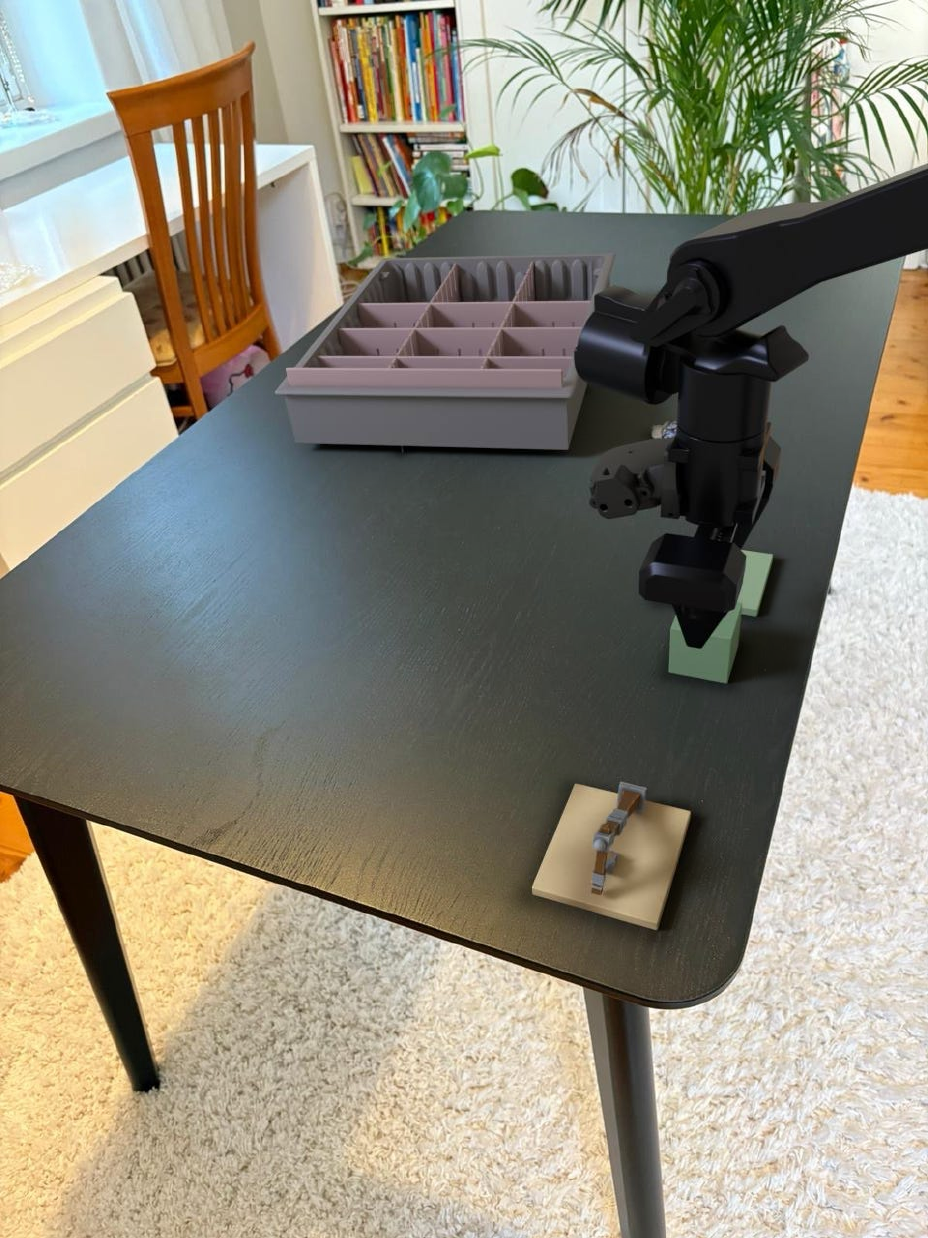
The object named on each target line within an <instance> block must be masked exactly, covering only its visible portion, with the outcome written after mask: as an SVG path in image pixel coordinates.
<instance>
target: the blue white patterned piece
mask: <svg viewBox="0 0 928 1238" xmlns="http://www.w3.org/2000/svg"><path fill="white" fill-rule="evenodd" d="M676 428H677V418H673V419H672V421H671V420H667V421H665V422H664V424H656V425H655V424H653V425H652V426H651V429H652V430H651V433H650V434H651V437H652V438H653V439H655V438H663V439H664V438H670V437H675V435H676Z"/></svg>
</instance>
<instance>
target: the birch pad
mask: <svg viewBox="0 0 928 1238" xmlns="http://www.w3.org/2000/svg"><path fill="white" fill-rule="evenodd" d="M617 798H618V792H612V791H610V790H605V789H600V788H598V787H597V788H596V787H592V786H588V785H584V784H580V783H574V784H573V788H572V790H571V792H570V795H569V797H568V800H567V802H566V803H565V806H564V809H563V811H562V814H561V817H560V819H559V822H558V823H557V826H556V829H555V831H554V833H553V835H552V838H551V840H550V843H549V845H548V847H547V850H546V852H545V854H544V856H543V860H542V862H541V865H540V867H539V869H538V872H537V874H536V877H535V878H534V882H533V883H532V886H531V891H532V895H533V896H536V897H540V898H544V899H547V900H551V901H553V902H557V903H560V904H563V905H567V906H571V907H575V908H578V909H581V910H585V911H587V912H588V911H589V912H591V913H595V914H598V915H602V916H606V917H609V918H612V919H616V920H619V921H622V922H626V923H629V924H633V925H636V926H640V927H644V928H647V929H651V930H653V931H658V930H659V927H660V923H661V920H662V917H663V913H664V910H665V906H666V903H667V901H668V897H669V893H670V890H671V886H672V883H673V880H674V876H675V873H676V870H677V866H678V863H679V859H680V856H681V852H682V849H683V846H684V842H685V839H686V836H687V831H688V830H689V829H688V828H689V825H690V822H691V816H692V812H691V811H690V810H687V809H683V808H679V807H676V806H675V807H674V806H671V805H666V804H662V803H657V802H655V801H650V800H647V799H645V804H644V811H643V812H642V814H639V813H635V812H634V813H633V814H632V815H631V816H630V817H629V818H628V819H627V825H626V826H625V827H624V828H623V830H622V833H621V835H619V836H617V835H616V836H615V838H614V843H613V844H612V845H611V846H610V848H609V851H614V852H616V853H618V858H617V866H614V871H613V875H610V874H607V875H606V880H605V882H604V886H603V892H602V894H601V895H596V894H593V893H591V889H592V887H591V886H592V883H591V879H592V872H593V871H594V868H595V860H596V853H597V850H596V849H593V848H592V846H593V838H594V834H595V833H596V832H597V831H598V829H599V828H600V826H601V825H602V824H605V823H606V818H607V816H608V815H609V814H611V812H612V811H613V808H615V809H616V806H617Z"/></svg>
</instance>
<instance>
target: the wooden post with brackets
mask: <svg viewBox="0 0 928 1238" xmlns="http://www.w3.org/2000/svg"><path fill="white" fill-rule="evenodd" d="M647 789H648V788H647V787H644V786H639V785H635V784H632V783H627V782H624V781H620V782H619V785H618V790H617V794H618V798H617V806H616V809H615V808H613V811H612V812H611V814H609V815H608V816H607V818H606V823H605V824H602V825H601V826H600V828H599V829H598V831H597V832H596V833H595V834H594V838H593V846H592V848H593V849H596V850H597V853H596V860H595V868H594V871H593V872H592V879H591V883H592V886H591V887H592V889H591V893H593V894H596V895H601V894H602V892H603V886H604V882H605V880H606V875H607V874H610V875H613V871H614V866H617V858H618V853H616V852H614V851H609V848H610V846H611V845H612V844H613V843H614V838H615V836H616V835H617V836H619V835H621V833H622V830H623V828H624V827H625V826H626V825H627V819H628V818H629V817H630V816H631V815H632V814H633V813H634V812H635V813H639V814H642V812H643V811H644V804H645V800H646V796H647Z"/></svg>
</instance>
